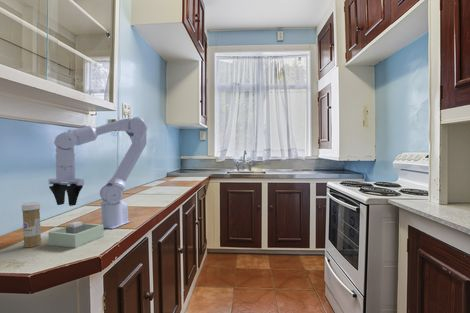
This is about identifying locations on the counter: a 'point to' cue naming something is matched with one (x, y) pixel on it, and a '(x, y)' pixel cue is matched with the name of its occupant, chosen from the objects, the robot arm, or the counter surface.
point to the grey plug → (75, 227)
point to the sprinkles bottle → (31, 224)
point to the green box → (76, 236)
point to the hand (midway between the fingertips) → (66, 205)
